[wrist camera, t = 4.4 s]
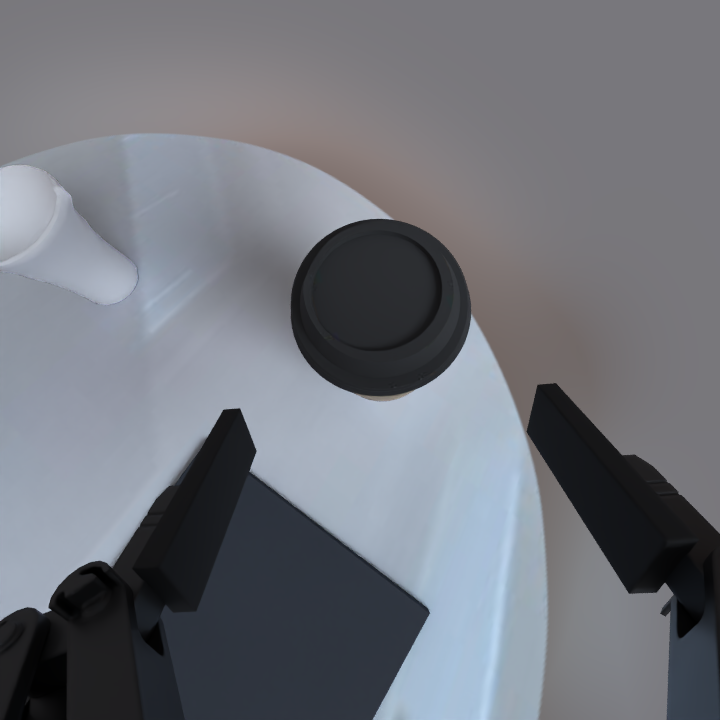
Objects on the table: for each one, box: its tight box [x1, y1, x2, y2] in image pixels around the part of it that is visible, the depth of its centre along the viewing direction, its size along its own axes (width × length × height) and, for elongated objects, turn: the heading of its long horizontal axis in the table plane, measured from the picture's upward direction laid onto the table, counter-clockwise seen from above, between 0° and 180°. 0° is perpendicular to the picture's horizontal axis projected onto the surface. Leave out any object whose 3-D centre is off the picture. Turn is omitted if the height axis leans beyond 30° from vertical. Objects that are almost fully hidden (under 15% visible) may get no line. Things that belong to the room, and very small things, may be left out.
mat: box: [160, 449, 430, 720], centre depth 23 cm, size 22×20×1 cm
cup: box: [0, 165, 138, 305], centre depth 27 cm, size 9×9×10 cm
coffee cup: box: [291, 219, 471, 401], centre depth 21 cm, size 9×9×15 cm
